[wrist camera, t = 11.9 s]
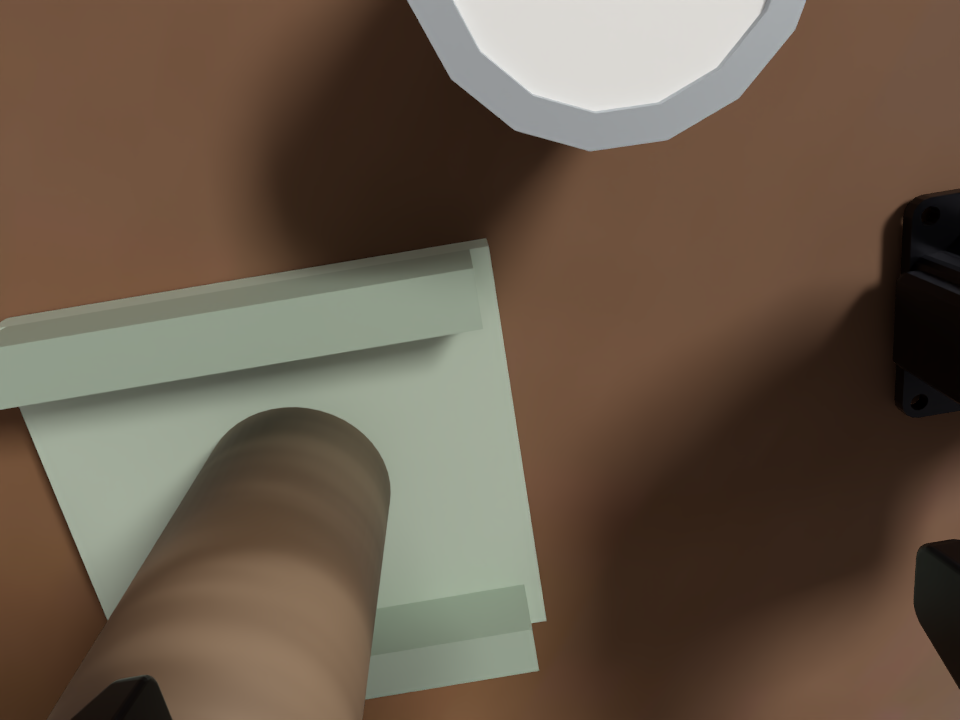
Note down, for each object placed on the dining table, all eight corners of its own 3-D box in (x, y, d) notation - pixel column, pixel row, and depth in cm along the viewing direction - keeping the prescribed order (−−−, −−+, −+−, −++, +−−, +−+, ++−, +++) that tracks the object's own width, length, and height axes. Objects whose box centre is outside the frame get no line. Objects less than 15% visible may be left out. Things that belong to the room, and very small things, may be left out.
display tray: (486, 238, 20) (494, 264, 17) (541, 600, 25) (555, 667, 22) (7, 317, 20) (-61, 357, 17) (147, 665, 25) (110, 741, 22)
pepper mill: (331, 375, 20) (99, 991, 7) (422, 522, 22) (389, 1250, 8) (167, 456, 21) (-352, 1173, 7) (269, 593, 23) (4, 1379, 9)
